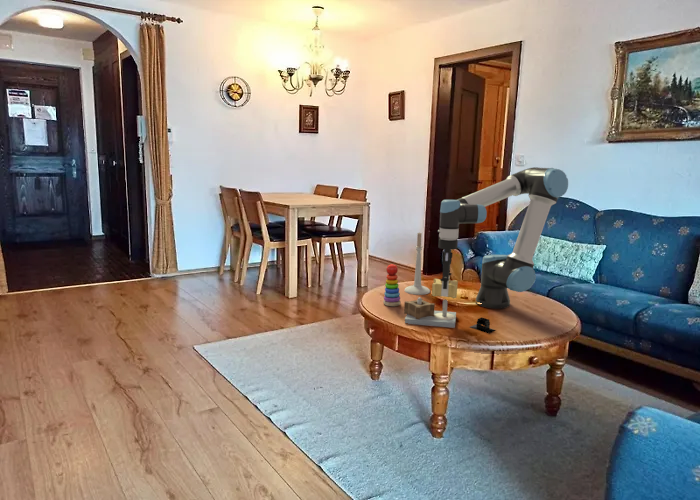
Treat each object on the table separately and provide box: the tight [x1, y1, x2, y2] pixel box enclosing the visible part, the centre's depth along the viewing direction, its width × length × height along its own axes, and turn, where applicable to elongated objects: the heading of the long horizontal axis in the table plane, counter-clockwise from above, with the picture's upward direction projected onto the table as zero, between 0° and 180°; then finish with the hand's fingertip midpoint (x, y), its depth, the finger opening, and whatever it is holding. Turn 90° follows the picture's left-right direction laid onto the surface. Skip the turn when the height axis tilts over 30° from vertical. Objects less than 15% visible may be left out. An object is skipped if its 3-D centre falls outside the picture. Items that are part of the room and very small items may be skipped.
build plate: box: [469, 317, 497, 334], centre depth 199 cm, size 12×7×5 cm, turn 42°
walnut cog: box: [403, 298, 436, 319], centre depth 209 cm, size 10×10×5 cm
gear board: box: [404, 296, 457, 329], centre depth 208 cm, size 20×14×9 cm
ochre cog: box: [431, 278, 459, 299], centre depth 204 cm, size 10×10×5 cm
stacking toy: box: [383, 263, 402, 307], centre depth 227 cm, size 8×8×19 cm
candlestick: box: [404, 232, 431, 296], centre depth 248 cm, size 13×13×30 cm
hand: (445, 293), depth 205 cm, fingers closed on ochre cog, 8 cm apart
